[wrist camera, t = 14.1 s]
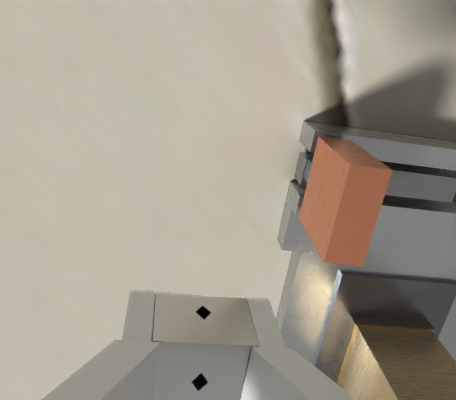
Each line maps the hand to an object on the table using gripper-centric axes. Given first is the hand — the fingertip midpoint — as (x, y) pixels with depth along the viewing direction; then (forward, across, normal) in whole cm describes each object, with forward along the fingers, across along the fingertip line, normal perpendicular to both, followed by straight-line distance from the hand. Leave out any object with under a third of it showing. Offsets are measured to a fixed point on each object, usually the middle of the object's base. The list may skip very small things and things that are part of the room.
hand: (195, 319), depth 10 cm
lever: (+12, -10, 0) cm, 16 cm away
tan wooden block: (+11, -13, +10) cm, 20 cm away
